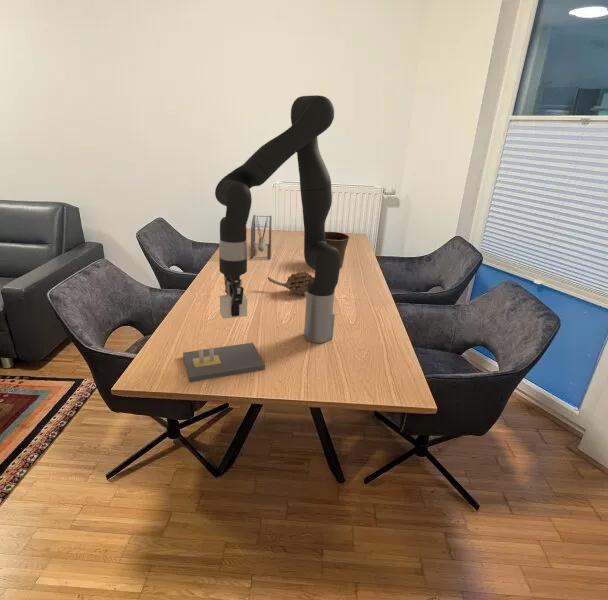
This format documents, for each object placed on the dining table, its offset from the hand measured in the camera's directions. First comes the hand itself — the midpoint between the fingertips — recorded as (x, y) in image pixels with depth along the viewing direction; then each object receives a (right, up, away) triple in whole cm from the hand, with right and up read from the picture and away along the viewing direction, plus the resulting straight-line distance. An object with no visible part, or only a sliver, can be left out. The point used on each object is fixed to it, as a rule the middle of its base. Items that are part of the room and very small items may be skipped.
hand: (233, 312), depth 119 cm
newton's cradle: (-4, +31, +113) cm, 117 cm away
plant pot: (+35, +21, +96) cm, 104 cm away
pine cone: (+15, +7, +59) cm, 62 cm away
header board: (-4, -16, +6) cm, 17 cm away
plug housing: (0, -1, 0) cm, 1 cm away
